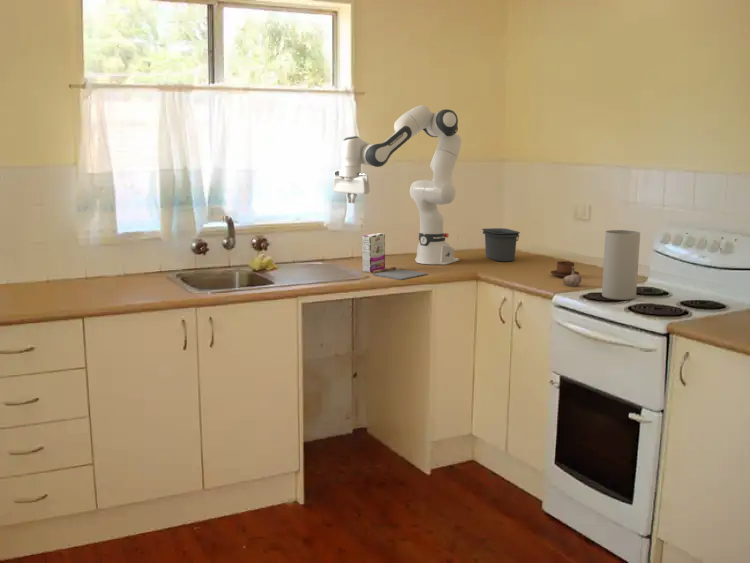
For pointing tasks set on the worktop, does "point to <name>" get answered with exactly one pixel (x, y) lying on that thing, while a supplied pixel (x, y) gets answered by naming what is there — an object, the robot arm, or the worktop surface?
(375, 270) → the walnut kerb
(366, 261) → the candy bar box
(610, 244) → the cylinder vase
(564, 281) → the garlic bulb
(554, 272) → the cup and saucer
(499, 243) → the storage bin
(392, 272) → the rubber mat
